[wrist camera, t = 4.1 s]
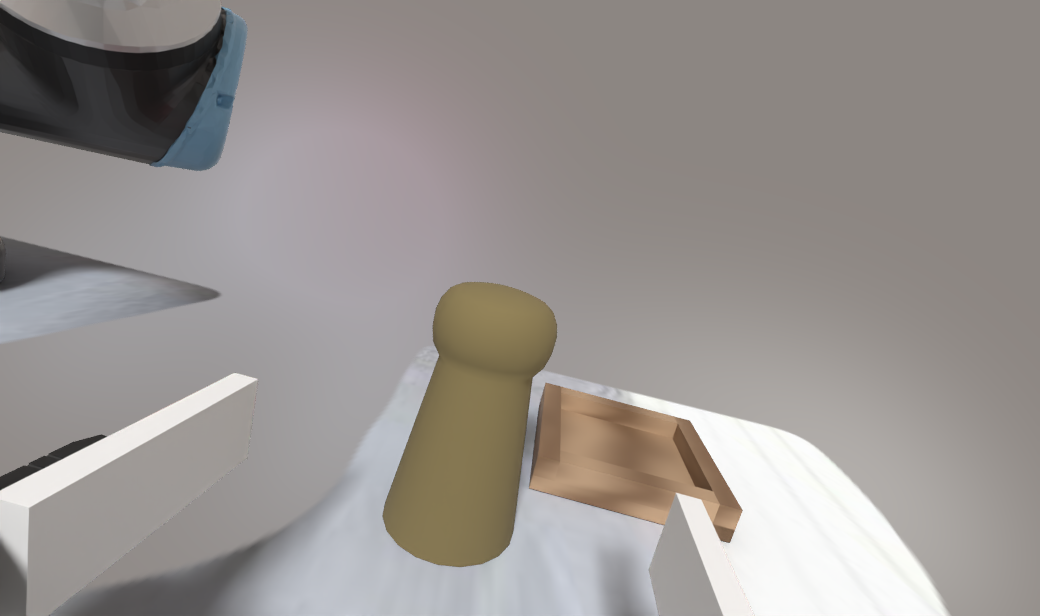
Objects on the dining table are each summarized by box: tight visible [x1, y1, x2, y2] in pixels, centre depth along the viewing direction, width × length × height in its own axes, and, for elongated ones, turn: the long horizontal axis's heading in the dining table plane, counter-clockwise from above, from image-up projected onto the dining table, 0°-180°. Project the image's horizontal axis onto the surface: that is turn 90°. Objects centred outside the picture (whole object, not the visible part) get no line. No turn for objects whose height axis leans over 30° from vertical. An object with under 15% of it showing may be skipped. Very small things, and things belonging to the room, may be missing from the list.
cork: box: [383, 282, 557, 567], centre depth 22 cm, size 6×6×11 cm
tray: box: [529, 383, 743, 543], centre depth 31 cm, size 11×11×2 cm
